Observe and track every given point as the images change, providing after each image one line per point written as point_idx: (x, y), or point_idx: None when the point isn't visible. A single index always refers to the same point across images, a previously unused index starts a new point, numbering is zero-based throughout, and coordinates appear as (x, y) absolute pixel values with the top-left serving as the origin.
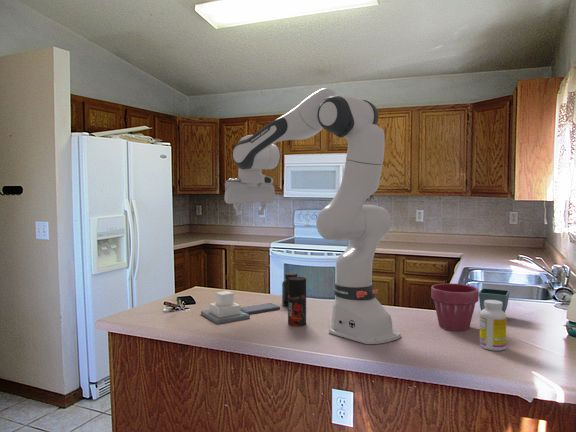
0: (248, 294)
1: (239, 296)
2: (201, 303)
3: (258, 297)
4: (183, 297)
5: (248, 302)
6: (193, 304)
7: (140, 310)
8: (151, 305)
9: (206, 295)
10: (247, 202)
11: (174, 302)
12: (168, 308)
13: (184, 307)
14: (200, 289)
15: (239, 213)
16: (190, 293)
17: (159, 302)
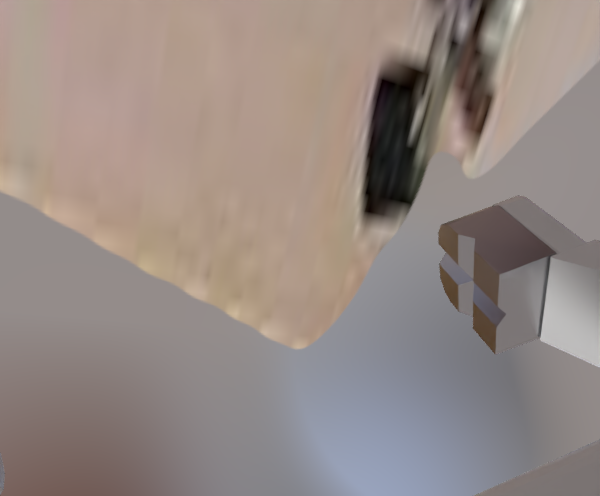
0: (96, 195)
1: (151, 163)
2: (356, 66)
3: (43, 116)
4: (396, 196)
5: (118, 11)
6: (392, 57)
7: (595, 18)
8: (537, 91)
9: (301, 213)
10: (521, 491)
11: (450, 118)
12: (502, 16)
13: (442, 11)
14: (301, 317)
15: (521, 215)
16: (354, 257)
17: (497, 133)
